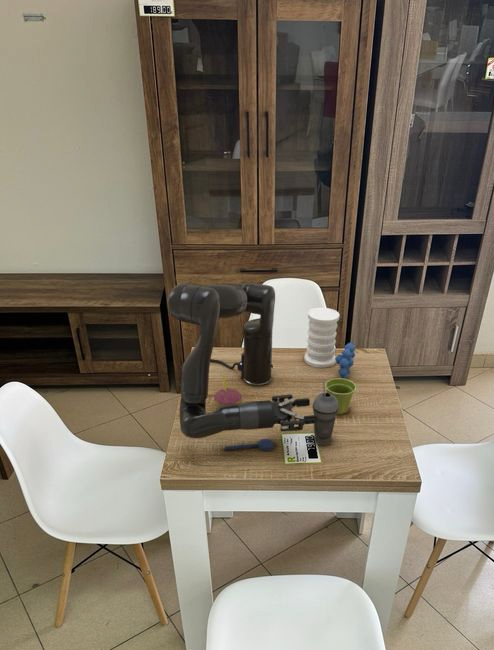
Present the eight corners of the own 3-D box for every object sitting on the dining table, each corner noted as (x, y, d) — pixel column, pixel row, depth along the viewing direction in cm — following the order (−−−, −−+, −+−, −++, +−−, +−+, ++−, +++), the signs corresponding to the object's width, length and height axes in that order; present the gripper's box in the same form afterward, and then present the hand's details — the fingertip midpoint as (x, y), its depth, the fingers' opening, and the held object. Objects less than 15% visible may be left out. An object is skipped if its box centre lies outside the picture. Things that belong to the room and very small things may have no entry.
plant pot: (351, 419, 165) (354, 395, 161) (320, 415, 167) (323, 391, 162) (354, 403, 173) (357, 380, 168) (325, 399, 174) (327, 376, 170)
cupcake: (208, 410, 166) (206, 376, 160) (229, 400, 172) (228, 367, 165) (227, 422, 162) (226, 387, 155) (247, 411, 167) (248, 377, 160)
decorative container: (302, 352, 201) (305, 307, 191) (333, 352, 202) (337, 307, 192) (305, 367, 191) (308, 320, 182) (338, 367, 192) (343, 320, 183)
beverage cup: (327, 451, 152) (333, 390, 141) (305, 442, 155) (309, 381, 144) (339, 438, 157) (346, 378, 146) (317, 430, 160) (322, 370, 149)
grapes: (338, 366, 194) (341, 335, 187) (356, 370, 192) (360, 339, 185) (328, 381, 184) (331, 349, 178) (347, 385, 182) (351, 353, 176)
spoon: (225, 454, 149) (225, 451, 148) (223, 444, 152) (223, 442, 152) (275, 449, 151) (275, 447, 151) (272, 440, 155) (272, 437, 154)
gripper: (259, 418, 138) (321, 413, 142) (251, 389, 150) (307, 385, 153) (259, 442, 143) (318, 436, 146) (250, 412, 154) (306, 407, 157)
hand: (313, 410), depth 149 cm, fingers open, 8 cm apart
